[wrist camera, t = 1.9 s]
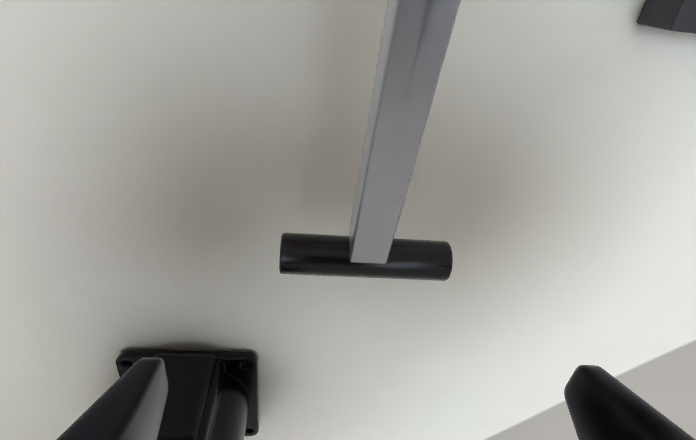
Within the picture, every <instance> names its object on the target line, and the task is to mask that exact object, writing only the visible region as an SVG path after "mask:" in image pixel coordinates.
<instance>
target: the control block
mask: <svg viewBox="0 0 696 440" xmlns="http://www.w3.org/2000/svg"><path fill="white" fill-rule="evenodd" d="M638 24H640V25H645V26H650V27H655V28H660V29H665V30H670V31H679V32H688V33H696V0H647V2H646V4H645V6H644V9H643V11H642V13H641V15H640V18H639V20H638Z"/></svg>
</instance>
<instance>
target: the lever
mask: <svg viewBox="0 0 696 440" xmlns="http://www.w3.org/2000/svg"><path fill="white" fill-rule="evenodd" d="M460 1H461V0H388V2H387V8H386V14H385V19H384V25H383V31H382V37H381V43H380V49H379V55H378V61H377V67H376V73H375V79H374V85H373V91H372V97H371V103H370V109H369V115H368V121H367V127H366V133H365V139H364V145H363V151H362V157H361V163H360V169H359V174H358V180H357V186H356V192H355V198H354V204H353V210H352V216H351V222H350V228H349V234H348V236H336V235H317V234H298V233H283V234H282V237H281V246H280V263H279V270H280V273H281V274H297V275H321V276H344V277H368V278H391V279H415V280H438V281H445V280H447V279H448V278H449V276H450V274H451V270H452V250H451V247H450V245H449V243H448V242H446V241H430V240H411V239H394V235H395V232H396V228H397V225H398V221H399V217H400V214H401V210H402V207H403V203H404V200H405V196H406V193H407V189H408V185H409V182H410V178H411V175H412V171H413V168H414V164H415V161H416V157H417V153H418V150H419V146H420V143H421V139H422V136H423V132H424V129H425V125H426V121H427V118H428V114H429V111H430V107H431V104H432V100H433V97H434V93H435V90H436V86H437V82H438V79H439V75H440V72H441V68H442V65H443V61H444V58H445V54H446V50H447V47H448V43H449V40H450V36H451V33H452V29H453V26H454V22H455V18H456V15H457V11H458V8H459V4H460Z"/></svg>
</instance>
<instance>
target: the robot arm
mask: <svg viewBox="0 0 696 440" xmlns="http://www.w3.org/2000/svg"><path fill="white" fill-rule="evenodd" d="M116 365H117V369H118V372H119V376H120V378H119V379H118V380H117V381H116V382H115V383H114V384H113V385H112V386H111V387H110V388H109V389H108V390H107V391H106V392H105V393H104V394H103V395H102V396H101V397H100V398H99V399H98V400H97V401H96V402H95V403H94V404H93V405H92V406H91V407H90V408H89V409H88V410H87V411H86V412H84V413H83V414H82V415H81V416H80V417H79V418H78V419H77V420H76V421H75V422H74V423H73V424H72V425H71V426H70V427H69V428H68V429H67V430H66V431H65V432H64V433H63V434H62V435H61V436H60V437H59V438H58V439H57V440H244V437H245V436H253V435H255V434H257V433H258V429H259V384H258V358H257V356H256V355H255V354H253V353H249V352H213V351H168V350H124V351H121V353H120V354H119V356H118V358H117V360H116ZM564 394H565V400H566V403H567V406H568V409H569V412H570V415H571V417H572V421H573V424H574V427H575V429H576V433H577V436H578V439H579V440H695V439H694V438H692V437H691V436H690V435H689V434H687V433H686V432H685V431H683V430H682V429H681V428H679V427H678V426H677V425H675V424H674V423H673V422H672V421H670V420H669V419H668V418H666V417H665V416H664V415H662V414H661V413H660V412H658V411H657V410H656V409H654V408H653V407H652V406H651V405H649V404H648V403H647V402H645V401H644V400H643V399H642V398H640V397H639V396H638V395H636V394H635V393H634V392H632V391H631V390H630V389H628V388H627V387H626V386H624V385H623V384H622V383H621V382H619V381H618V380H617V379H615V378H614V377H613V376H612V375H610V374H609V373H608V372H606V371H605V370H604V369H602V368H601V367H599V366H595V365H580V366H578V367H577V368H576V370H575V371H574V373H573V375H572V376H571V378H570V380H569V381H568V383H567V385H566V387H565V390H564Z"/></svg>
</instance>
